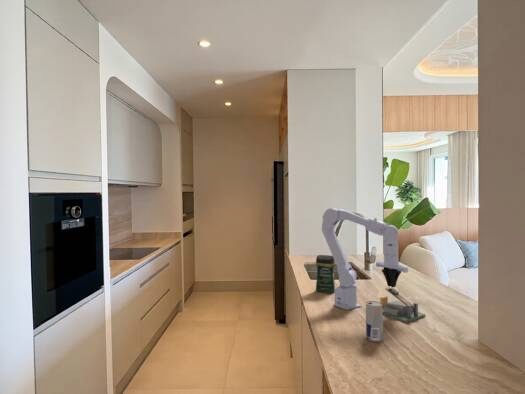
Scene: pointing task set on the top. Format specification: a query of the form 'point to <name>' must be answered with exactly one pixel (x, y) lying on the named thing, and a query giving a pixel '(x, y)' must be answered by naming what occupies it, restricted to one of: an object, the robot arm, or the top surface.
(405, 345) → the top surface
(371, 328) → the energy drink
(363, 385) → the top surface
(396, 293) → the clamp bar
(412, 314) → the clamp board
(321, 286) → the coffee jar
